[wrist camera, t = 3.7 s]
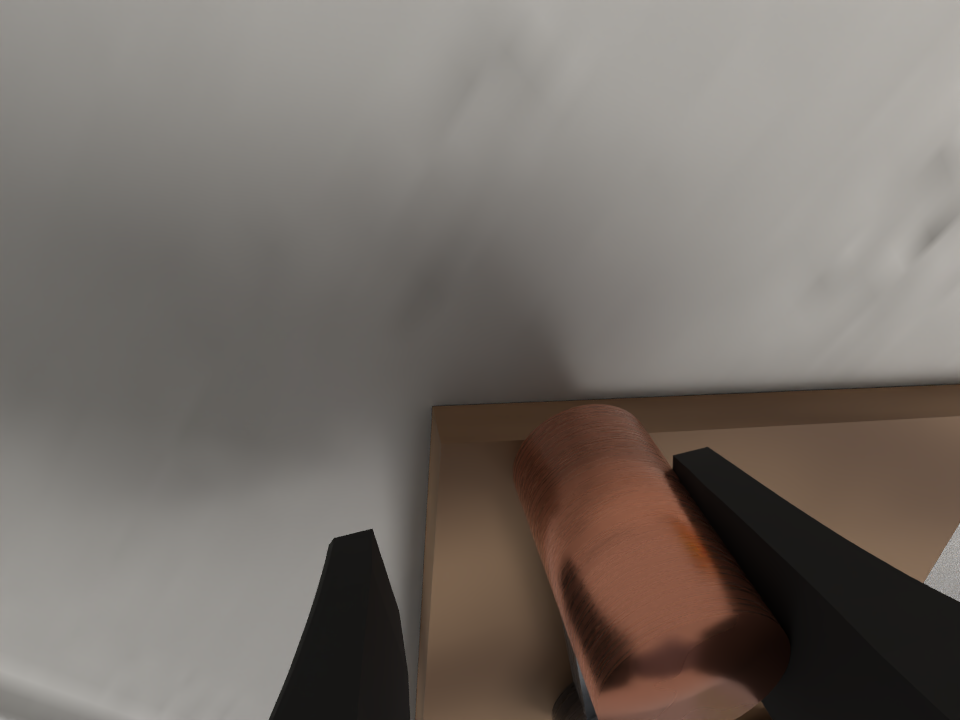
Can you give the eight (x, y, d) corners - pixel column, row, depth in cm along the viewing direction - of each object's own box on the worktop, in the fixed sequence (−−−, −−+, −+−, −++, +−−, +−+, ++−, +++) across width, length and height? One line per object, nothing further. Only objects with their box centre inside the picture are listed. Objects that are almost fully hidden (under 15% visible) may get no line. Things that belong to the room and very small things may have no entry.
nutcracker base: (781, 746, 23) (846, 857, 20) (410, 809, 20) (423, 949, 17) (980, 383, 15) (1130, 478, 12) (432, 406, 13) (462, 534, 10)
